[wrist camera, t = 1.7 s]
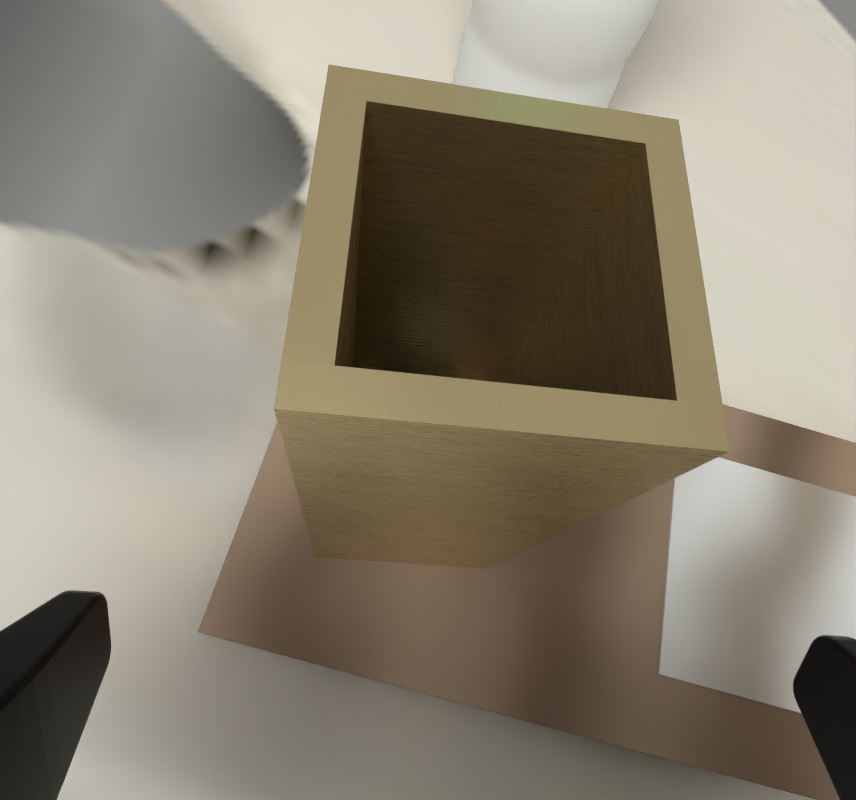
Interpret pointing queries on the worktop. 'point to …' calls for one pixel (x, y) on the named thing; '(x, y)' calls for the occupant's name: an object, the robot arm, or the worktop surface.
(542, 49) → the water bottle
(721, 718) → the shaft board
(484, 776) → the worktop surface
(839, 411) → the worktop surface
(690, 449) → the sleeve
